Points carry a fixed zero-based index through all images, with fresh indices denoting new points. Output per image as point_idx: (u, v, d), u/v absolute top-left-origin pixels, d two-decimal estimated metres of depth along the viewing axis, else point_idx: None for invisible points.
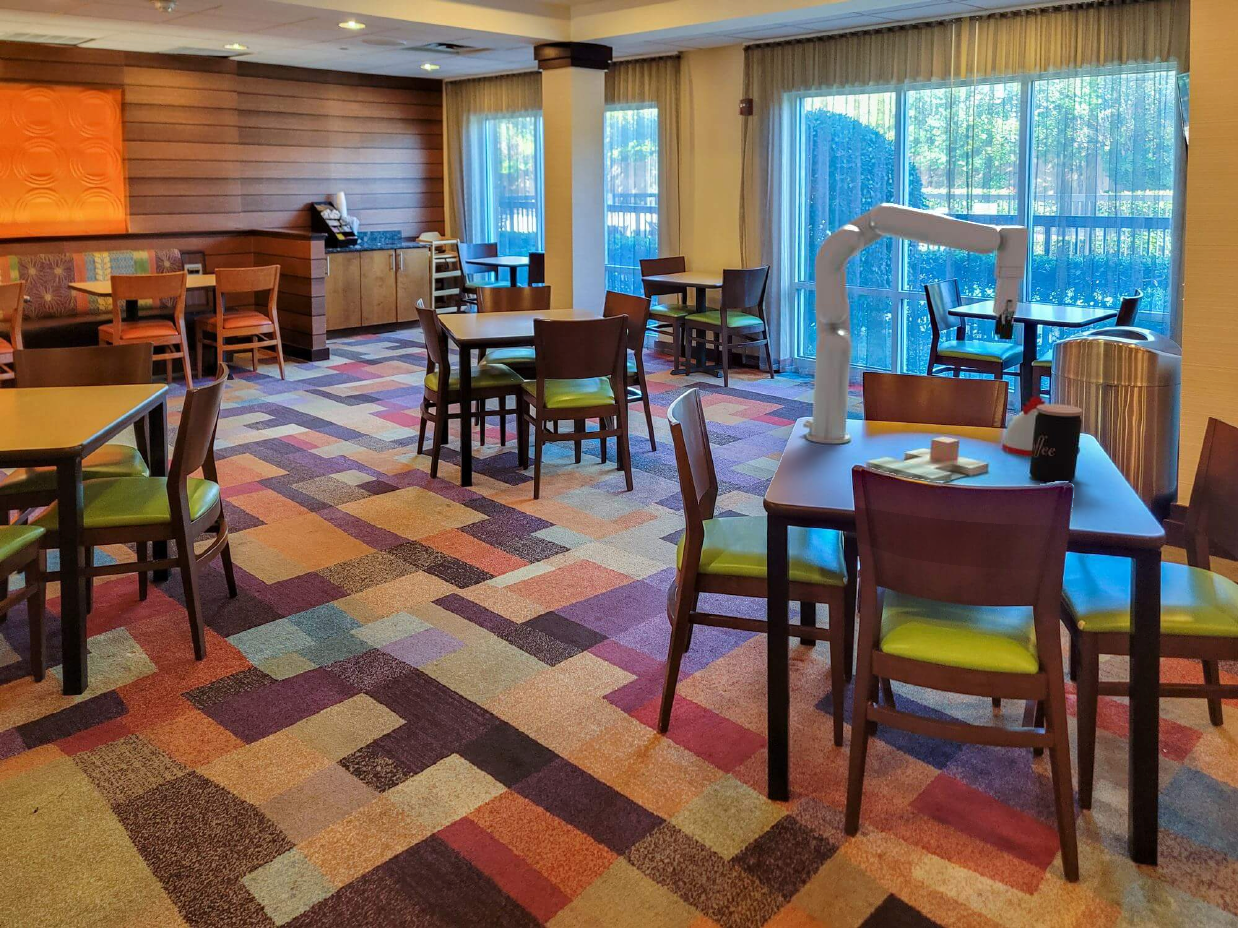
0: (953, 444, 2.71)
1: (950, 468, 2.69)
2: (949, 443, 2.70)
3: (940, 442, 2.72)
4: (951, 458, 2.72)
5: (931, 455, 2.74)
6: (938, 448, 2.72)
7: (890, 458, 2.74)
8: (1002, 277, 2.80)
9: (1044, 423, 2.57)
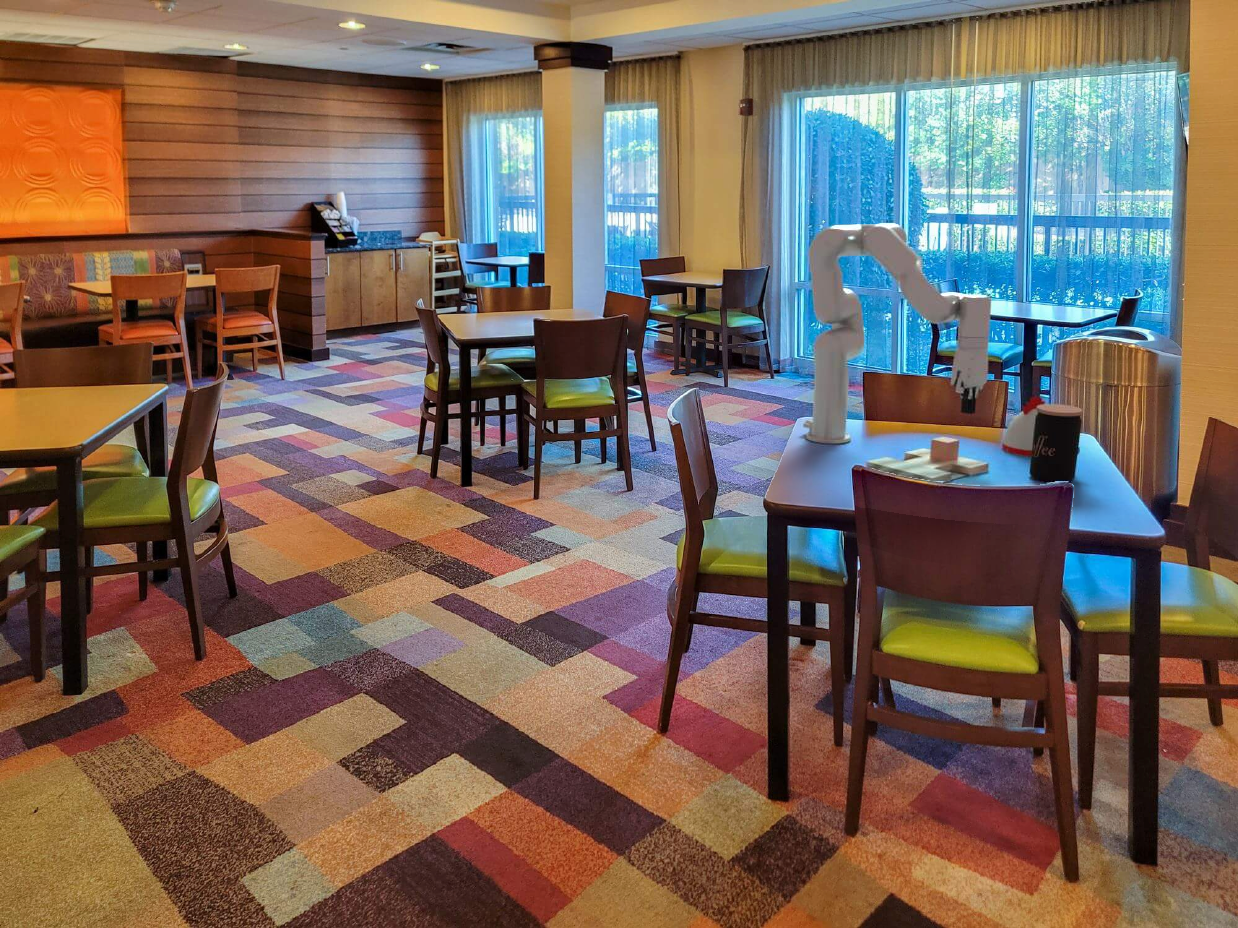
0: (953, 444, 2.71)
1: (950, 468, 2.69)
2: (949, 443, 2.70)
3: (940, 442, 2.72)
4: (951, 458, 2.72)
5: (931, 455, 2.74)
6: (938, 448, 2.72)
7: (890, 458, 2.74)
8: (958, 347, 2.72)
9: (1044, 423, 2.57)
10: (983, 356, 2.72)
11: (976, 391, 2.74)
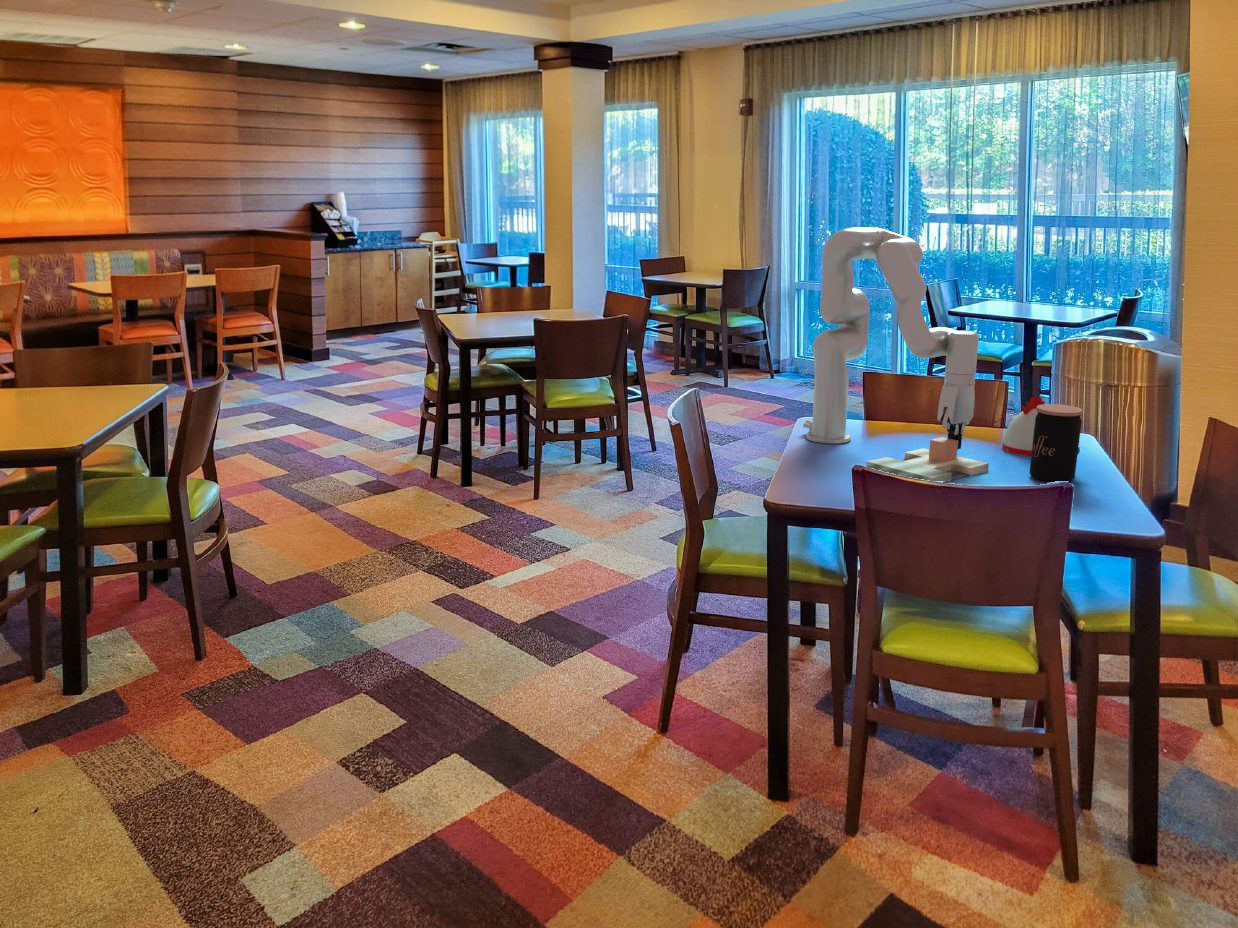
0: (951, 445, 2.71)
1: (950, 468, 2.69)
2: (948, 444, 2.70)
3: (939, 443, 2.71)
4: (950, 459, 2.72)
5: (930, 456, 2.74)
6: (936, 448, 2.72)
7: (890, 458, 2.74)
8: (945, 383, 2.71)
9: (1044, 423, 2.57)
10: (970, 392, 2.71)
11: (962, 427, 2.74)
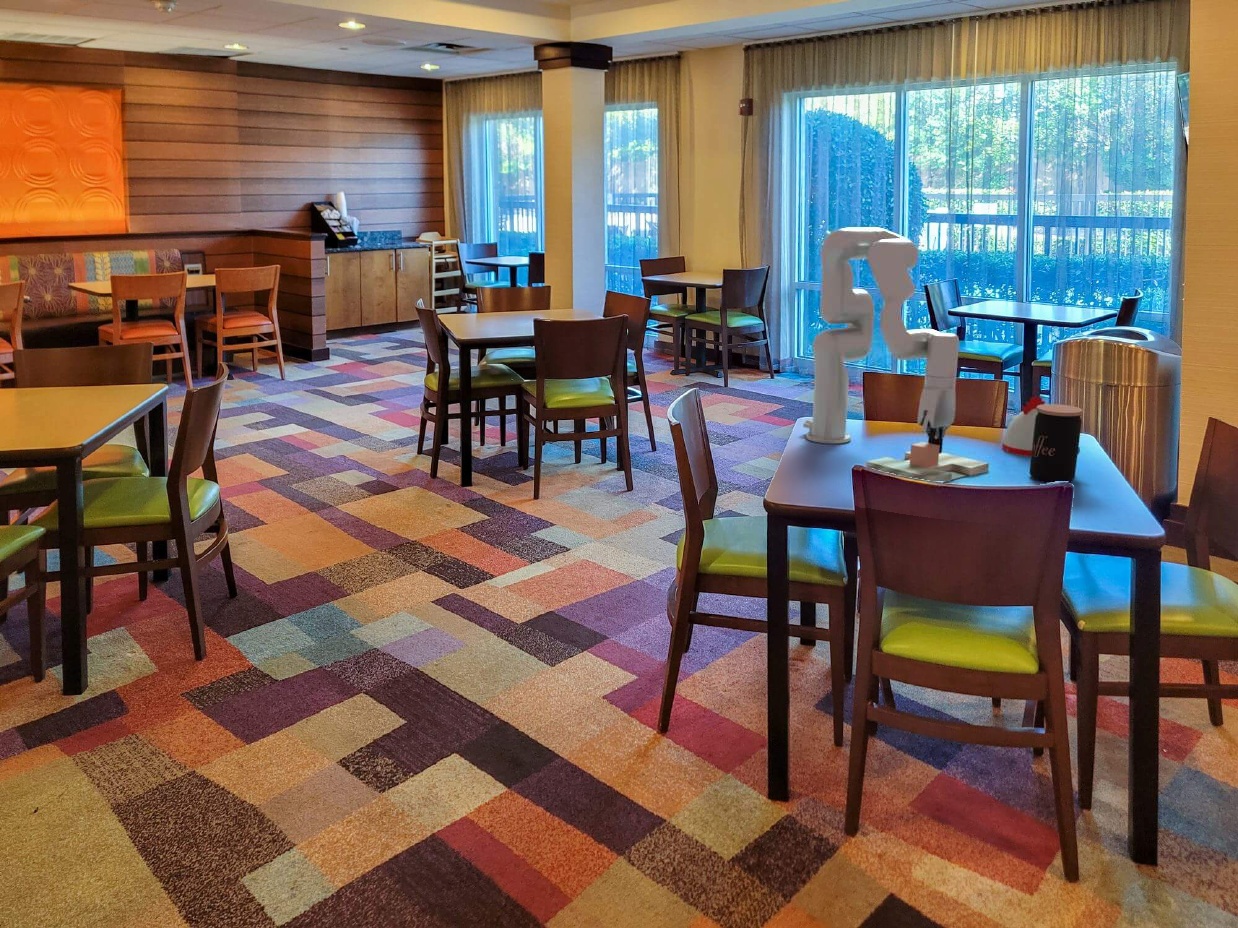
0: (933, 450, 2.65)
1: (950, 468, 2.69)
2: (929, 449, 2.64)
3: (920, 448, 2.65)
4: (931, 464, 2.66)
5: (911, 461, 2.68)
6: (917, 453, 2.66)
7: (890, 458, 2.74)
8: (925, 386, 2.66)
9: (1044, 423, 2.57)
10: (951, 395, 2.66)
11: (943, 431, 2.69)
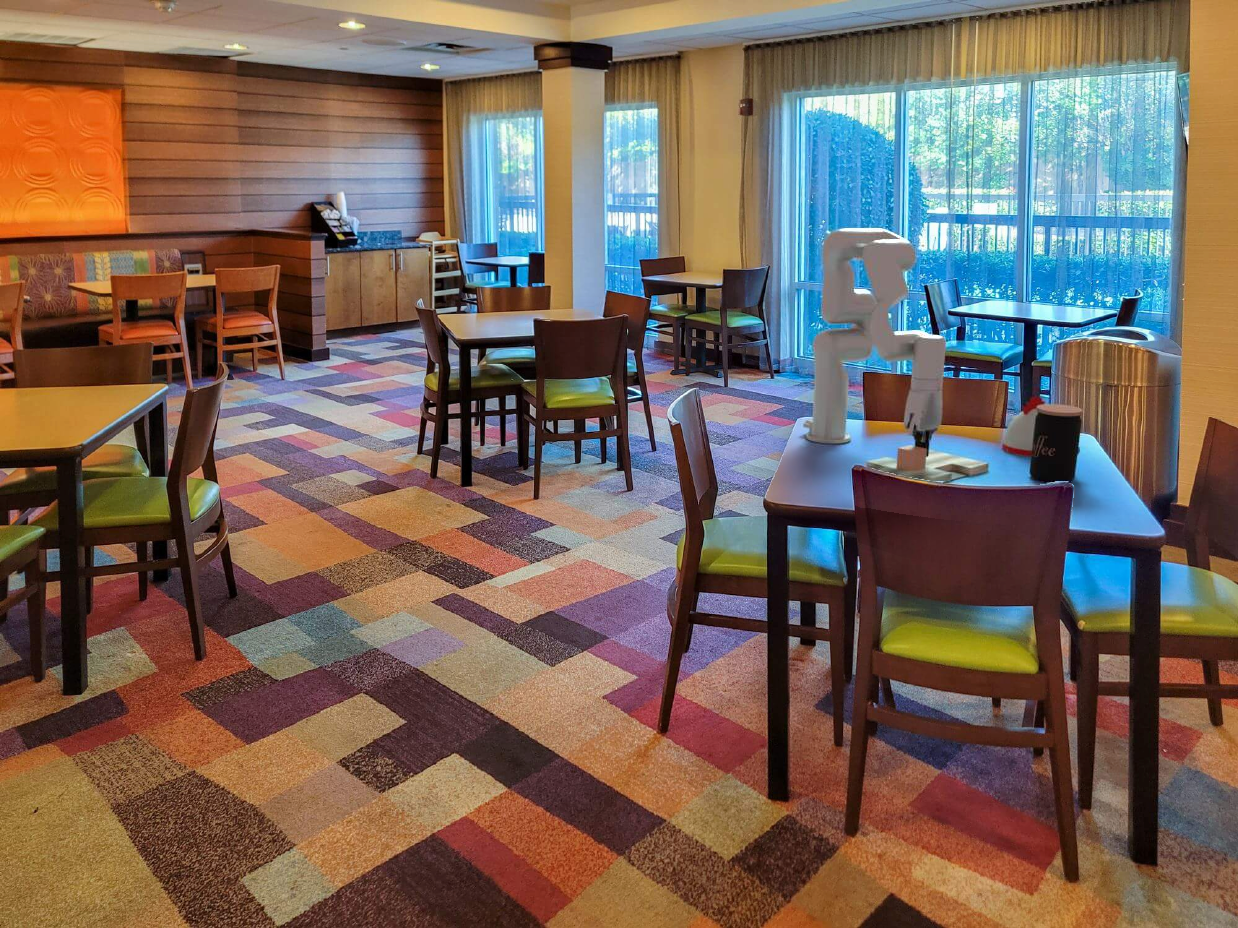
0: (920, 453, 2.62)
1: (950, 468, 2.69)
2: (916, 452, 2.61)
3: (907, 451, 2.62)
4: (918, 467, 2.63)
5: (898, 464, 2.65)
6: (904, 457, 2.63)
7: (890, 458, 2.74)
8: (911, 388, 2.63)
9: (1044, 423, 2.57)
10: (937, 398, 2.63)
11: (930, 434, 2.66)
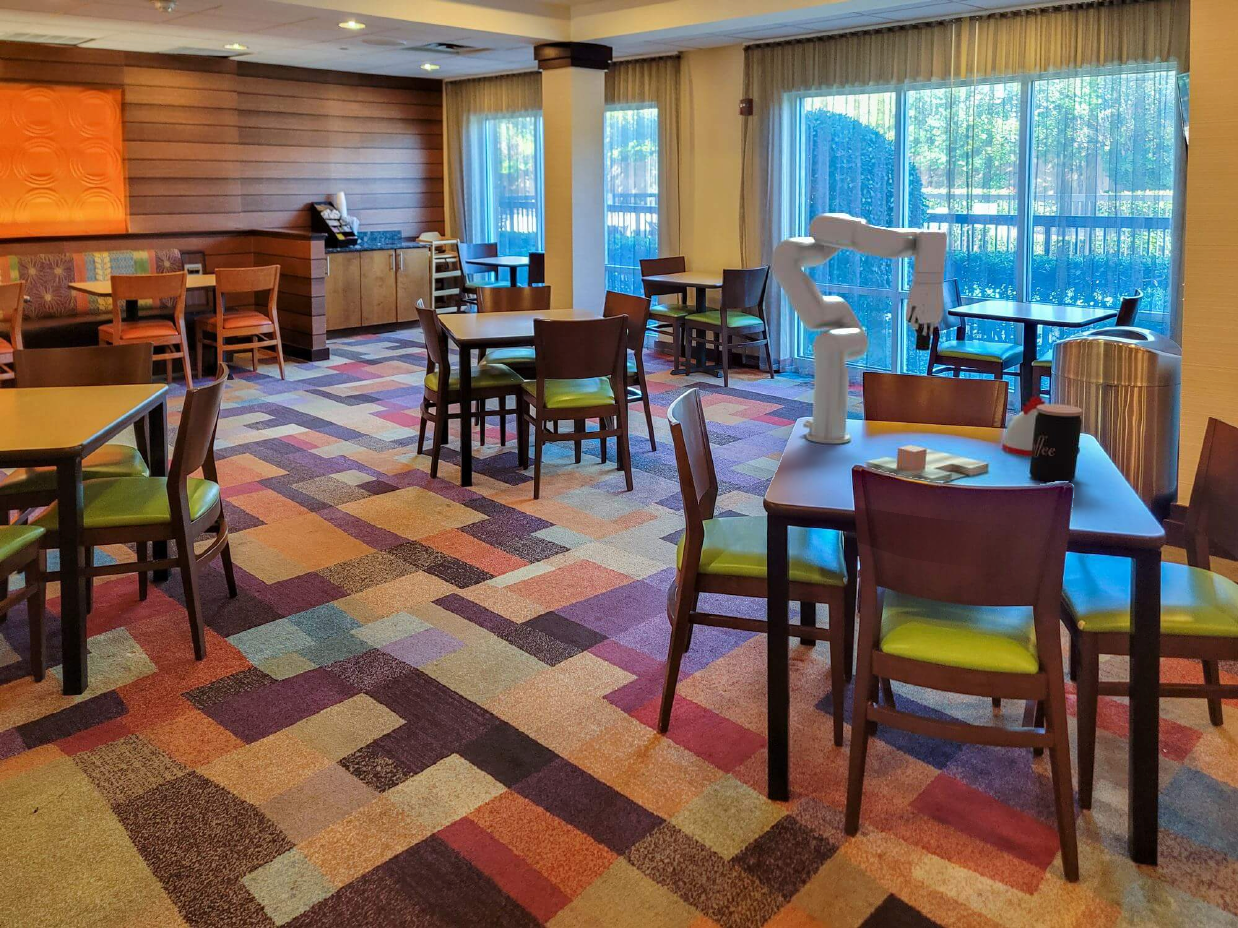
0: (920, 453, 2.62)
1: (950, 468, 2.69)
2: (916, 452, 2.61)
3: (907, 451, 2.62)
4: (918, 467, 2.63)
5: (898, 464, 2.65)
6: (904, 457, 2.63)
7: (890, 458, 2.74)
8: (913, 282, 2.71)
9: (1044, 423, 2.57)
10: (938, 292, 2.71)
11: (931, 328, 2.74)
